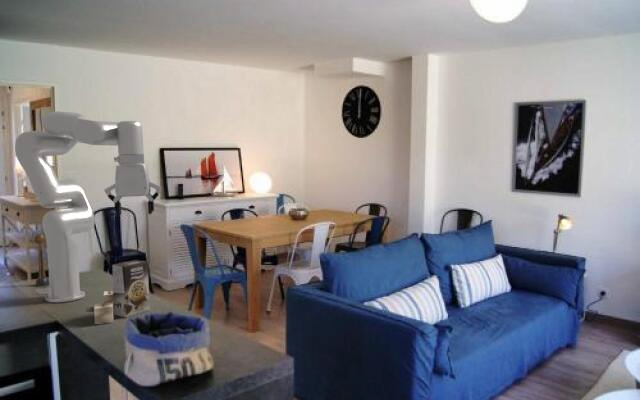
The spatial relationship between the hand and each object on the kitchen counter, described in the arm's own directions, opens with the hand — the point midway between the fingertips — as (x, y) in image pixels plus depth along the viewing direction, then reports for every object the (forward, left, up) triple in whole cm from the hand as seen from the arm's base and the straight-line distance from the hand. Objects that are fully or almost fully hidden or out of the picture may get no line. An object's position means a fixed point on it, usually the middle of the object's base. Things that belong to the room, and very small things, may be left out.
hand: (134, 214), depth 166 cm
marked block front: (-10, -8, -31) cm, 34 cm away
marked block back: (-8, +7, -31) cm, 33 cm away
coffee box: (-2, -2, -31) cm, 32 cm away
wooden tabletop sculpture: (-35, +49, -31) cm, 68 cm away
